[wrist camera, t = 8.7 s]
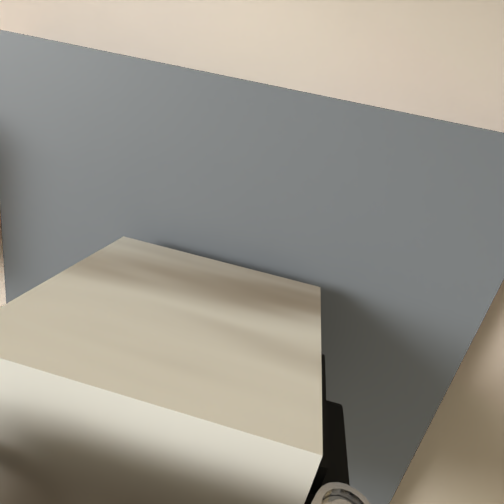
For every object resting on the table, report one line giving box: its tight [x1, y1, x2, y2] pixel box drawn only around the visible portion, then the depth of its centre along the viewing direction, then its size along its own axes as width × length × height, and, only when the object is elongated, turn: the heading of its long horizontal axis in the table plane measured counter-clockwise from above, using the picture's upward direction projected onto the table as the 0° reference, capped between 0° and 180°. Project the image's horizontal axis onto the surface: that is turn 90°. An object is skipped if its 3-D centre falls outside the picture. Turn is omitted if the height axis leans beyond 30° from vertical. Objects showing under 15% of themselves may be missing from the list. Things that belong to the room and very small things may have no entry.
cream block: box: [0, 236, 323, 504], centre depth 10 cm, size 6×6×6 cm
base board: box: [0, 30, 504, 504], centre depth 14 cm, size 17×17×2 cm
